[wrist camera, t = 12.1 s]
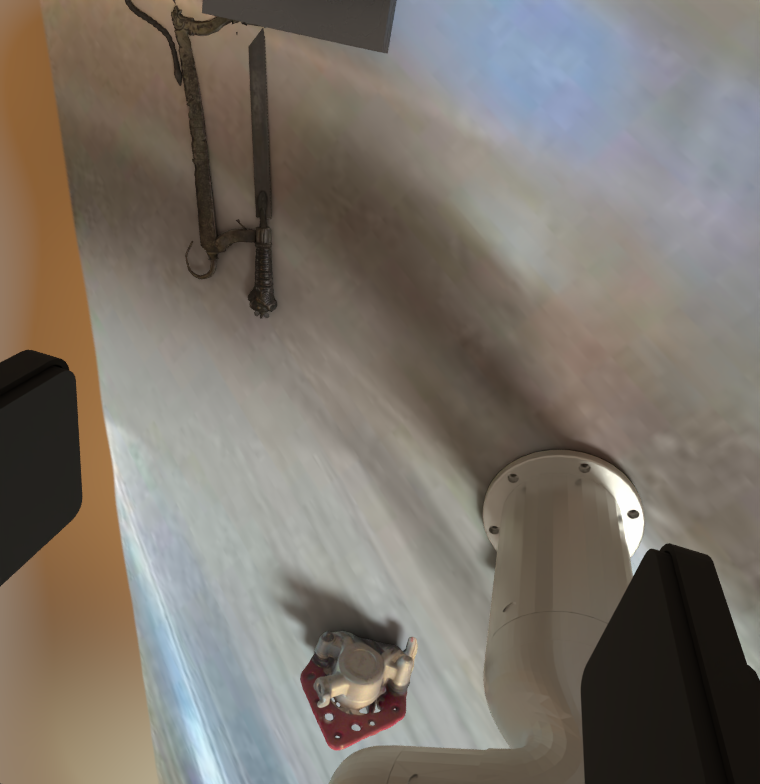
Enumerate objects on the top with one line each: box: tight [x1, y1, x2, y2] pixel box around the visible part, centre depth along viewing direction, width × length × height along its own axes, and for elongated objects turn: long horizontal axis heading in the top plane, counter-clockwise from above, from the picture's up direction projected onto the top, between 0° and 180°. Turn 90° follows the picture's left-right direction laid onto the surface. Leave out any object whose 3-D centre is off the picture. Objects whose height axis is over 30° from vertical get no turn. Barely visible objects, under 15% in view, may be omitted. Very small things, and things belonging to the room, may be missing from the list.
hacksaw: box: [125, 0, 277, 318], centre depth 45 cm, size 24×10×2 cm, turn 178°
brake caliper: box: [300, 631, 418, 750], centre depth 61 cm, size 11×10×11 cm
